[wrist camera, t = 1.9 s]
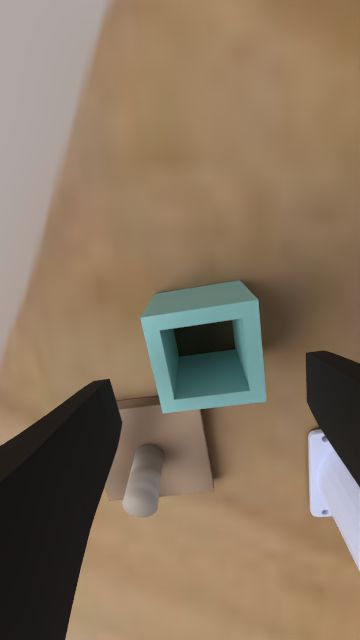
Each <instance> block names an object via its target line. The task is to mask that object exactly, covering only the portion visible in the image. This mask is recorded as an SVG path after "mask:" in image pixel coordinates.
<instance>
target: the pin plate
mask: <svg viewBox="0 0 360 640" xmlns="http://www.w3.org/2000/svg"><path fill="white" fill-rule="evenodd" d="M116 402H117V406H118V409H119V413H120V416H121V419H122V429H121V434H120V439H119V444H118V448H117V452H116V455H115V458H114V461H113V464H112V467H111V469H110V472H109V475H108V478H107V481H106V484H105V490H106V493H107V496H108V499H109V501H114V500H123V507H124V509H125V510H126V511H127V512H128V513H129V514H131V515H133V516H136V517H148V516H151V515H152V514H154V513H155V512H156V510H157V507H158V499H159V497H163V496H175V495H187V494H199V493H211V492H214V482H213V475H212V470H211V464H210V458H209V453H208V447H207V441H206V436H205V430H204V424H203V419H202V413H201V409H197V410H189V411H180V412H171V413H163V412H162V408H161V404H160V400H159V396H153V397H145V398H137V399H129V400H121V401H116Z"/></svg>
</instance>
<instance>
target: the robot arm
mask: <svg viewBox="0 0 360 640" xmlns="http://www.w3.org/2000/svg"><path fill="white" fill-rule="evenodd" d="M306 382H307V403H308V405H309V407H310V409H311V411H312V413H313V416H314V417H315V419H316V421H317V423H318V425H319V427H320V430H313V431H311V432H310V433H309V435H308V448H309V492H310V511H311V513H312V515H313V516H316V517H325V516H333V518H334V520H335V522H336V524H337V526H338V528H339V530H340V532H341V534H342V536H343V538H344V540H345V542H346V544H347V547H348V549H349V551H350V553H351V555H352V557H353V559H354V561H355V563H356V565H357V567H358V569H359V571H360V363H357V362H355V361H352V360H349V359H347V358H344V357H342V356H339V355H336V354H334V353H331V352H327V351H317V352H309V353H306ZM121 429H122V419H121V416H120V413H119V409H118V406H117V402H116V399H115V396H114V392H113V389H112V386H111V382H110V379H105V380H98V381H93V382H92V383H90V384H88V385H87V386H85V387H84V388H82V389H81V390H80V391H78V392H77V393H75V394H74V395H73V396H71V397H70V398H69V399H67V400H66V401H65V402H63V403H62V404H61V405H59V406H58V407H57V408H55V409H54V410H53V411H51V412H50V413H48V414H47V415H46V416H44V417H43V418H41V419H40V420H38V421H37V422H36V423H34V424H33V425H31V426H30V427H28V428H27V429H26V430H24V431H23V432H21V433H20V434H18V435H17V436H15V437H14V438H12V439H11V440H9V441H7V442H6V443H4V444H3V445H1V446H0V640H65V638H66V633H67V628H68V623H69V618H70V613H71V609H72V604H73V600H74V595H75V591H76V587H77V582H78V578H79V573H80V569H81V565H82V561H83V557H84V553H85V549H86V545H87V541H88V537H89V533H90V529H91V526H92V522H93V519H94V516H95V513H96V510H97V507H98V504H99V501H100V498H101V495H102V492H103V490H104V487H105V484H106V481H107V478H108V475H109V472H110V469H111V467H112V464H113V461H114V458H115V455H116V452H117V448H118V444H119V439H120V434H121ZM323 436H326V437H323ZM322 437H323V438H322Z"/></svg>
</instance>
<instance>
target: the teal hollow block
mask: <svg viewBox="0 0 360 640" xmlns="http://www.w3.org/2000/svg"><path fill="white" fill-rule="evenodd" d="M227 320H232V324H233V333H234V342H235V349H233V350H225V351H218V352H211V353H203V354H196V355H189V356H181V357H179V355H178V349H177V344H176V339H175V334H174V329H173V328H180V327H187V326H193V325H200V324H207V323H214V322H221V321H227ZM141 322H142V327H143V331H144V335H145V339H146V344H147V348H148V352H149V357H150V361H151V365H152V369H153V374H154V378H155V382H156V387H157V391H158V395H159V400H160V404H161V408H162V412H163V413H171V412H180V411H189V410H197V409H206V408H215V407H224V406H232V405H241V404H250V403H258V402H267V401H266V388H265V376H264V364H263V351H262V339H261V326H260V314H259V302H258V299H257V298H256V297H255V296H254V295H253V294H252V293H251V291H250V290H249V289H248V288H247V287H246V286H245V285H244V284H243V283H242V282H241V281H240V280H237V281H231V282H224V283H218V284H212V285H206V286H200V287H193V288H187V289H181V290H175V291H169V292H162V293H156V294H154V296H153V298H152V299H151V301H150V303H149V304H148V306H147V308H146V309H145V311H144V313H143V314H142V316H141Z"/></svg>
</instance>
